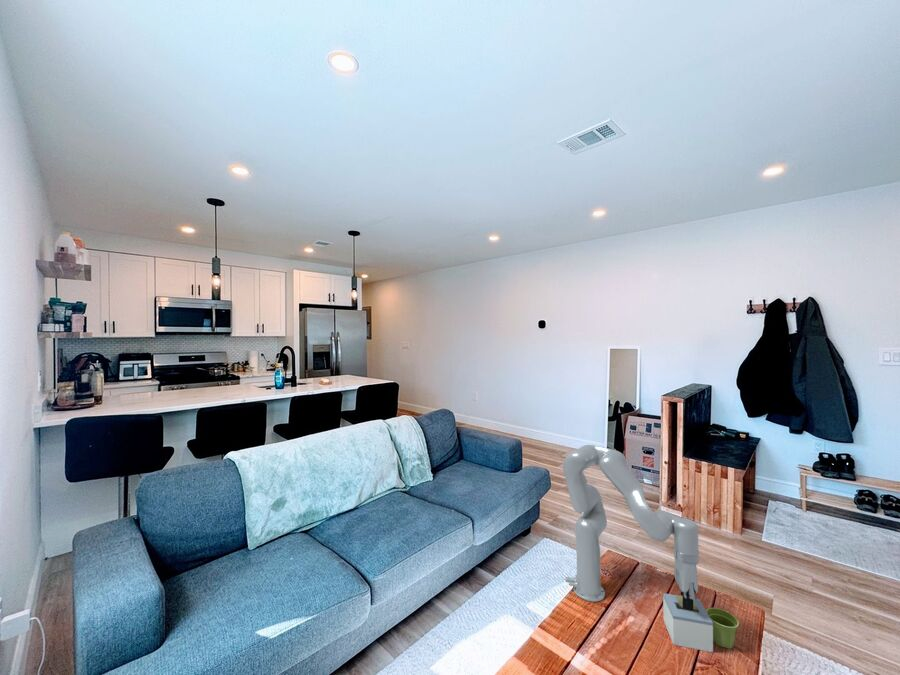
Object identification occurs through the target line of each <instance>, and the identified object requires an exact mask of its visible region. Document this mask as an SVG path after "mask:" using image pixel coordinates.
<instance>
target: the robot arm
mask: <svg viewBox="0 0 900 675" xmlns="http://www.w3.org/2000/svg"><path fill="white" fill-rule="evenodd" d="M627 462H628V461H627V458H626V456H625V454H623V453H622V452H620V451H619V450H615V449H612V448H609V447H608V448H607V447H603V446H598V445H594V444H585V445H583V446H581V447H579V448H577V449H575V450H574V451H572V452H569V454H568V455H567V456H566V457H565V458H564V459H563V463H562V469H563V470H562V471H563V474H564V478H565V482H566V486H567V490H568V491H567V492H568V495H569V498H570V502H571V506H572V509H573V510H574V511H575V512H576V513H578V514H579V515H581V516H580V517H579V518H578V519H577V520H576V522H575V525H574V535H575V536H574V537H575V542H576V544H575V546H576V548H575V549H576V552H575V553H576V574H575V577H570V576H565V582H566V583H568V586H569V587H570V586H571V587H572V590H573V592H574V594H575V595H577V597H578V598H580V599H582V600H584V601H587V602H594V603H595V602H596V603H597V602H601V601H603V600H604V599H605V596H606V595H605V594H606V593H605V589H604V588H603V586H602V584H601V582H602V581H601V579H602V578H601V570H602V569H601V547H600V541H599V539H600V536H601V535H602V533H603V532H604V531H605V530H606V528H607V524H608V521H607V515H606V511H605V507H604V503H603V499H602V497H601V494H600V491H599V490H598V489H597V488H596V487H595V486H594V485H592V484H590V483H588V480H587V478H586V475H585V473H584V471H585V470H586V469H587V470H588V469H589V468H591V467H592V466H594V465H596V466H599V469H600V471H601V472H602V473H603V475H604V476H605V478H607V479H608V480H609V482H611V484H612V485H613V487H615V489H617V491H618V492H619V493H620V494H621V495H622V497H623V498H624V501H625V503H626V505H627V507H628V509H629V511H630V512H631V515H632V516H633V518H634V520H635V521H636V522H637V524H639V526H640V527H641V528H642V530H644V531H645V533H646V535H648V536H650V538H652V539H653V540H655V541H658V542H665V541H668V540H669V538H670V537H671V535H673V557H674V567H673V568H674V570H673V572H674V573H673V575H674V578H675V582H676V583H677V585H678V588H679V590H680V593H679V594H680V595H684V596H683V608H684V609H690V610H693V599H694V600H695V595H697V594H698V591H699V584H698V581H699V580H698V569H697V565H698V564H699V563H700V562H699V561H700V558H699V554H700V553H699V526H698V524H697V523H696V522H695V521H694V520H692V519H689V518H686V517H680V516H677V515H674V514H672V513H670V512H668V511H664V510H657V511H655V512H654V511H653V510H652V509H651V507H650V505H649V504H648V502H647V500H646V498H645V497H646V496H645V492H644V488H643V485H642V483H641V482H640V481H639V480H638V479H637V478H636V476H634V474H633V473H632V472H631V471H630V470H629V469H628V467H627V464H628V463H627ZM574 587H575V588H574ZM573 588H574V589H573Z"/></svg>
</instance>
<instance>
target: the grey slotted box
mask: <svg viewBox="0 0 900 675" xmlns="http://www.w3.org/2000/svg"><path fill="white" fill-rule="evenodd" d="M662 594H663V595H662V597H663V598H662V600H663V602H662V606H663V607H662V608H663V612H662V613H663V619H662V620H663V622H664V624H665V628H666V629H667V632H668V634H669V637H670V639H671V642H672V644H673V645H674V646H678V647H679V646H680V647H684V648H689V649H695V650H699V651H704V652H709V653H714V641H713V622H712V621H711V619H710V617H709V615H708V614H707V612H706V610H707V609H705V607H704V605H703V602H702V601H701V600H700V599H699V598H695V600H694V599H693V600H694V602H695V604H696V606H697V608H698V611H688V610H682V608H681V606H680V605H679V603H678V601H677V599H676V596H678V594H677V595H676V594H670V593H662Z"/></svg>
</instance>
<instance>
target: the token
mask: <svg viewBox="0 0 900 675" xmlns="http://www.w3.org/2000/svg"><path fill="white" fill-rule="evenodd" d="M683 596H684V595H681V594H680V595H677V596H676V599H677V601H678V603H679V605H680V606H681V608H682V610H688V611H698V608H697V606H696V604H695V602H694V600H693V610H690V609H684V608H683Z"/></svg>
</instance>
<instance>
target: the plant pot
mask: <svg viewBox="0 0 900 675" xmlns="http://www.w3.org/2000/svg"><path fill="white" fill-rule="evenodd" d="M705 610H706V612H707V614H708V615H709V617H710V619H711V621H712V622H713V643H715V644H716V645H718V646H719V647H721V648H726V649H733V648H734V644H735V639H736V638H735V637H736V630H737V629H738V627H739V626H740V622H739V619H738V618H736V616H734V614H732V613H731V612H729V611H726V610H725V609H722V608H718V607H710V608H707V609H705Z"/></svg>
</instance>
